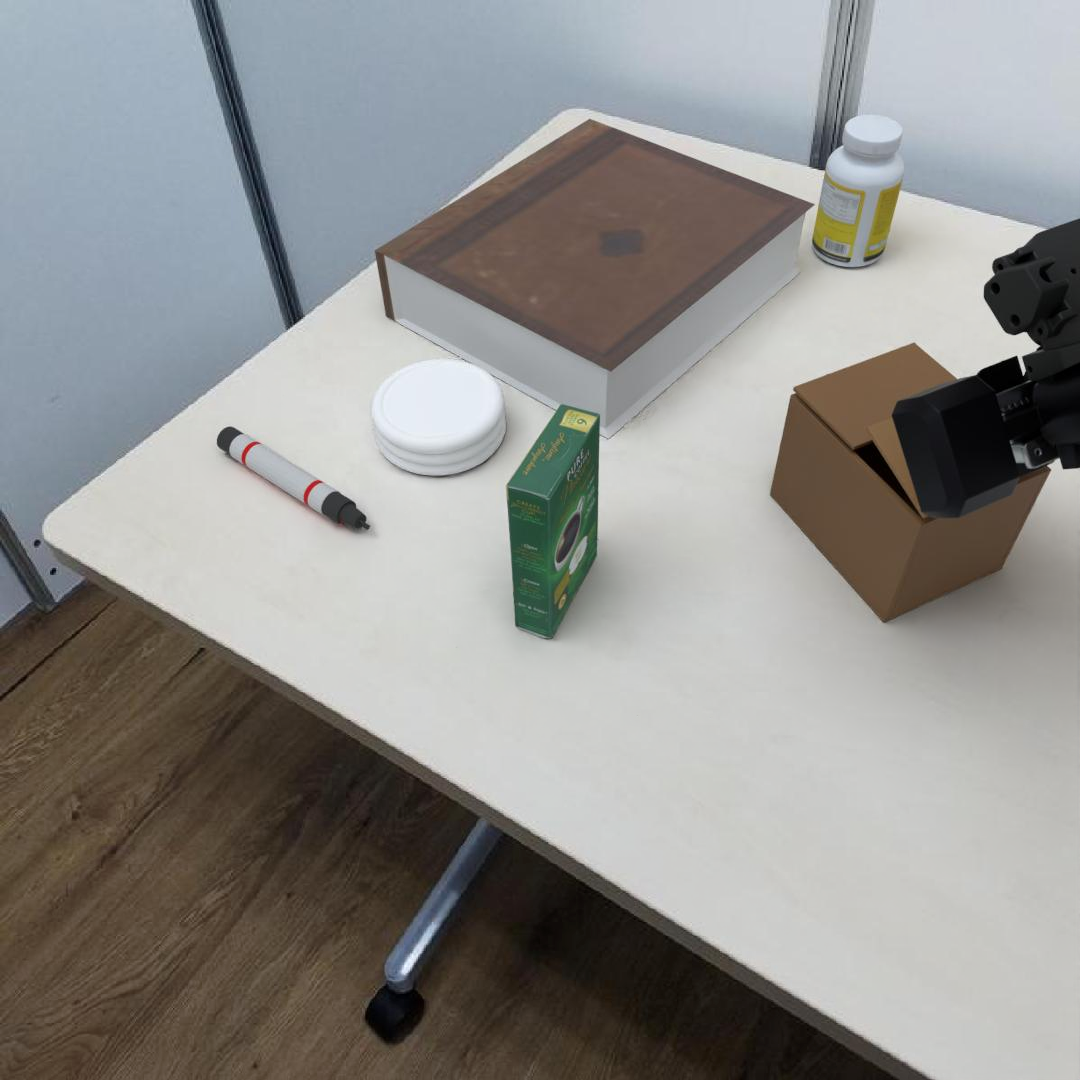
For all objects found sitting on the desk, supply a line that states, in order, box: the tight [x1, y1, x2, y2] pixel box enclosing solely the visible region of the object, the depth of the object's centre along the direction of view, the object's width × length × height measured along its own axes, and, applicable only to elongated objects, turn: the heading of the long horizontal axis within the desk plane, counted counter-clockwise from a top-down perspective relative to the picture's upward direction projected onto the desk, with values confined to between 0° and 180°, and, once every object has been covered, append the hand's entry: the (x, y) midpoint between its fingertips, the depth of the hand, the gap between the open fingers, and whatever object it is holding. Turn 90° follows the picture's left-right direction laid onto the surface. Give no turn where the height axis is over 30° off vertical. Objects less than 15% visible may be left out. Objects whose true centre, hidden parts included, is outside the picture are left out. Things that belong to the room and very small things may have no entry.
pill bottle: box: [811, 114, 906, 268], centre depth 88 cm, size 6×6×12 cm
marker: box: [216, 426, 371, 531], centre depth 73 cm, size 15×2×2 cm, turn 52°
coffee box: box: [505, 404, 600, 639], centre depth 63 cm, size 8×3×13 cm, turn 155°
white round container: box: [369, 358, 507, 476], centre depth 76 cm, size 10×10×4 cm
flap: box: [866, 418, 1056, 518], centre depth 60 cm, size 6×10×1 cm, turn 116°
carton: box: [769, 342, 1052, 623], centre depth 66 cm, size 13×10×10 cm
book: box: [374, 118, 816, 440], centre depth 87 cm, size 24×28×6 cm
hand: (953, 419), depth 60 cm, fingers closed
